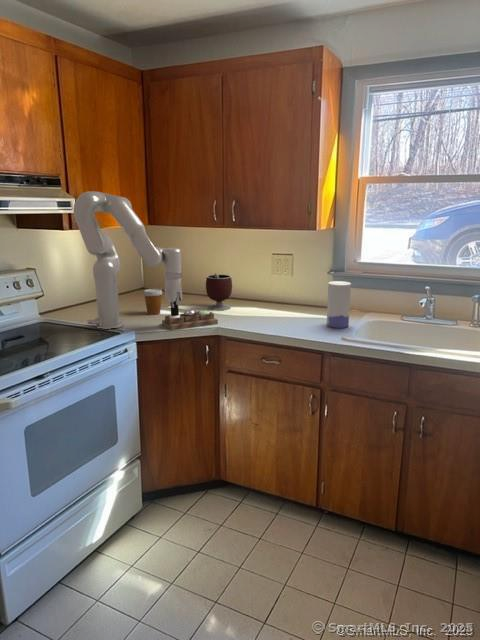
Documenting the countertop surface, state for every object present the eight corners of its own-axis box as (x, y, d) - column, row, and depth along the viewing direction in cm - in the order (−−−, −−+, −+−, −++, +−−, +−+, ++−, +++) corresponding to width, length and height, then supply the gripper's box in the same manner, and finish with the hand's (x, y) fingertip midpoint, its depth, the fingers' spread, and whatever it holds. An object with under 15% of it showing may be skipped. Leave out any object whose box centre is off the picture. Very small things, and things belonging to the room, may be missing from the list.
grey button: (186, 317, 217) (186, 312, 217) (182, 315, 221) (182, 310, 221) (196, 316, 219) (196, 311, 219) (192, 313, 224) (192, 309, 223)
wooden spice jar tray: (171, 330, 211) (171, 320, 210) (162, 324, 221) (161, 314, 220) (217, 323, 222) (217, 314, 221) (206, 318, 232) (206, 309, 231)
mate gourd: (209, 304, 261) (208, 268, 256) (234, 305, 259) (234, 269, 253) (202, 311, 246) (202, 273, 241) (229, 312, 244) (228, 273, 239)
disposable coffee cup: (164, 315, 238) (163, 291, 235) (145, 316, 236) (144, 292, 233) (162, 310, 247) (161, 288, 244) (143, 311, 245) (142, 289, 242)
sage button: (201, 318, 221) (201, 313, 220) (197, 316, 225) (197, 311, 225) (211, 317, 223) (211, 312, 223) (207, 315, 228) (206, 310, 227)
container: (343, 322, 225) (346, 280, 220) (351, 327, 215) (354, 284, 210) (323, 323, 223) (325, 281, 218) (330, 328, 214) (332, 285, 209)
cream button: (171, 322, 214) (171, 317, 213) (167, 320, 218) (167, 314, 218) (181, 321, 216) (181, 316, 216) (177, 318, 221) (177, 313, 220)
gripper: (159, 274, 217) (161, 313, 221) (171, 278, 204) (173, 320, 209) (175, 272, 220) (176, 311, 225) (187, 277, 207) (188, 318, 212)
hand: (174, 315), depth 217 cm, fingers closed
